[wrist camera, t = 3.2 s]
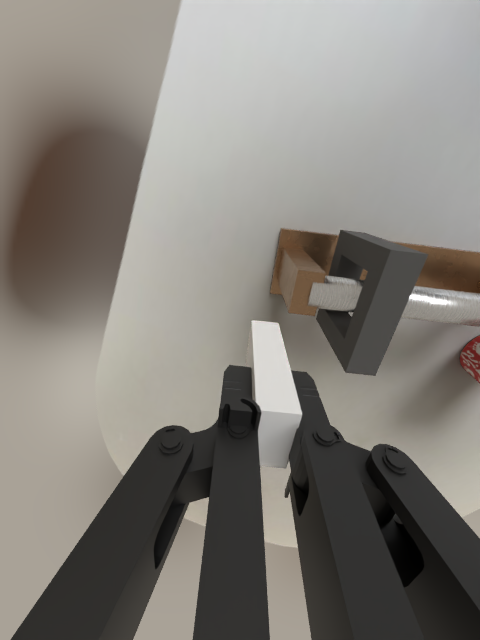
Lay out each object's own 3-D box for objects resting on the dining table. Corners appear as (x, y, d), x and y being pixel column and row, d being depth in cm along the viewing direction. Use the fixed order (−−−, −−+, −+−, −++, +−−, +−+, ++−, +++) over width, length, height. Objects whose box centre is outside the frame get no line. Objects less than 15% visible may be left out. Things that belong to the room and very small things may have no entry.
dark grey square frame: (316, 318, 30) (345, 372, 21) (340, 230, 25) (390, 249, 17) (337, 321, 30) (375, 375, 21) (365, 233, 26) (428, 254, 17)
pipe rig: (270, 291, 34) (280, 334, 23) (281, 228, 30) (298, 246, 20) (481, 315, 35) (581, 367, 24) (516, 256, 31) (651, 288, 21)
